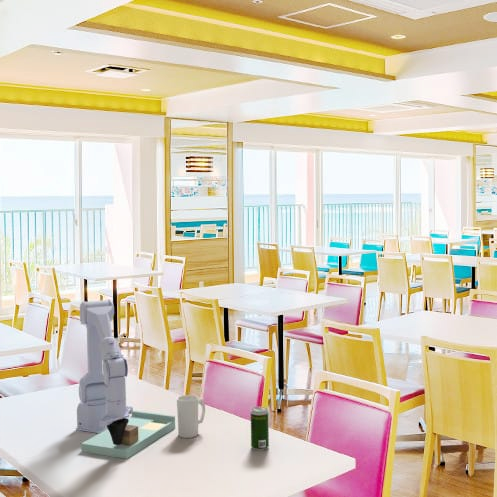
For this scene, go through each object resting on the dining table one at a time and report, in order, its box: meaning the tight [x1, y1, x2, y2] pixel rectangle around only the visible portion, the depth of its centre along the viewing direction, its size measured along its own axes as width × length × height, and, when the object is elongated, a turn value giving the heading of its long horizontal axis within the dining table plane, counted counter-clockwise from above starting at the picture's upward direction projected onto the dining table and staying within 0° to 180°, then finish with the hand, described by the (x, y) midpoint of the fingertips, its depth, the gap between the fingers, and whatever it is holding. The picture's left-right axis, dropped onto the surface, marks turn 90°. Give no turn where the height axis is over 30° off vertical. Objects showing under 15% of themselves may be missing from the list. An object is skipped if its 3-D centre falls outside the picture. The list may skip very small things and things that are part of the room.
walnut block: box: [122, 425, 139, 446], centre depth 215 cm, size 4×4×4 cm
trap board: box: [80, 410, 176, 460], centre depth 224 cm, size 16×29×4 cm, turn 157°
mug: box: [176, 394, 206, 439], centre depth 228 cm, size 10×7×12 cm, turn 128°
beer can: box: [250, 406, 270, 452], centre depth 215 cm, size 5×5×12 cm
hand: (117, 444), depth 210 cm, fingers closed
